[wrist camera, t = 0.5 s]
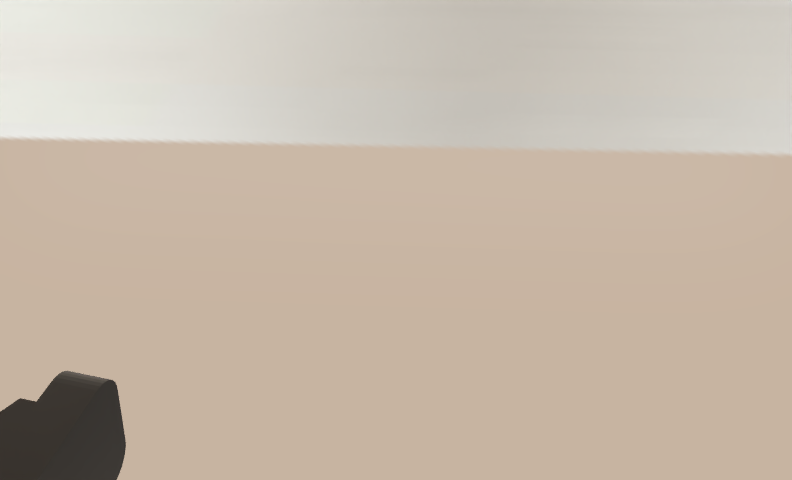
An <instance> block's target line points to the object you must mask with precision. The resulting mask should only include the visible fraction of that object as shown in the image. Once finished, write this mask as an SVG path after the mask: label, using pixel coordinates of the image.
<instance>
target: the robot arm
mask: <svg viewBox="0 0 792 480" xmlns="http://www.w3.org/2000/svg"><path fill="white" fill-rule="evenodd" d="M125 447H126V442H125V435H124V429H123V422H122V415H121V409H120V403H119V396H118V390H117V385H116V383H115V382H114V381H113V380H109V379H104V378H100V377H95V376H90V375H84V374H80V373H75V372H70V371H64V372H61V373H60V374H58V376H56V377H55V378H54V379H53V381H52V382H51V383H50V385H49V386H48V387H47V389H46V390H45V391H44V393H43V394H42V395H41V396H40V398H39V399H38V401H37V402H35V401H30V400H25V399H18V400H17V401H15V402H14V403H13V404H11V405H10V406H8V407H7V408H5V409H4V410H2V411H1V412H0V480H116V479H117V477H118V475H119V473H120V470H121V467H122V463H123V459H124V455H125Z"/></svg>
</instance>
